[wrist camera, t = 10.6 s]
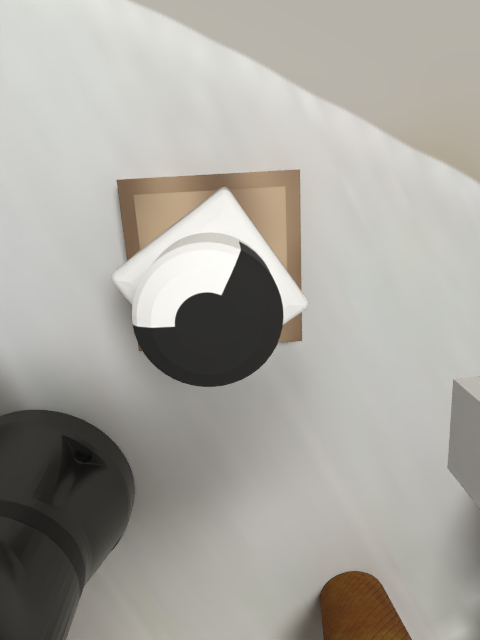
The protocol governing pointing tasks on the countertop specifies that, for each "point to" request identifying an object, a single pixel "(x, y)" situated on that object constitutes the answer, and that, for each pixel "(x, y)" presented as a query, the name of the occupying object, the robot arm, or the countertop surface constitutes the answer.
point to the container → (209, 295)
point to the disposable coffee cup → (359, 610)
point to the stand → (189, 191)
